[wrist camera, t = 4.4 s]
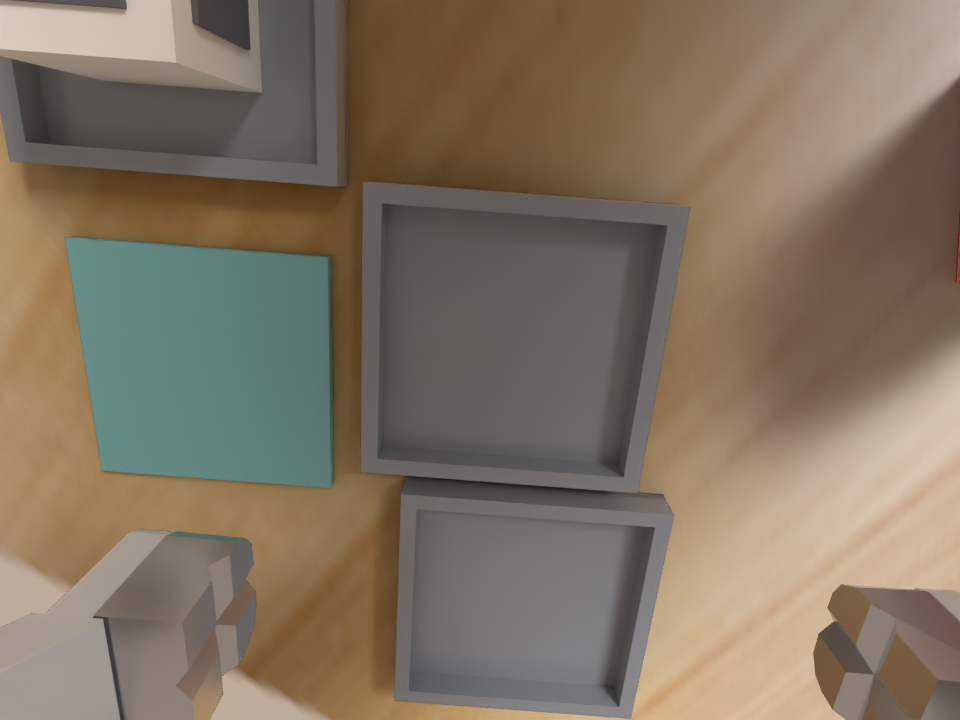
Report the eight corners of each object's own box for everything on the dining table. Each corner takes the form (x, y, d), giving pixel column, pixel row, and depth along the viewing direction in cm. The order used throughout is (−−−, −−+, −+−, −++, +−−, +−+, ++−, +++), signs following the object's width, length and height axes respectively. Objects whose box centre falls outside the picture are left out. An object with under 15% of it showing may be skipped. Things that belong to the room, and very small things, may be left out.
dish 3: (663, 494, 22) (674, 514, 21) (623, 690, 25) (630, 718, 24) (406, 475, 22) (401, 494, 21) (399, 673, 25) (394, 700, 24)
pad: (331, 256, 19) (327, 257, 19) (333, 482, 22) (330, 488, 22) (73, 236, 19) (64, 237, 19) (108, 465, 22) (101, 470, 22)
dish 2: (676, 204, 19) (690, 207, 17) (628, 473, 22) (637, 493, 21) (371, 181, 19) (362, 181, 17) (368, 454, 22) (360, 472, 21)
